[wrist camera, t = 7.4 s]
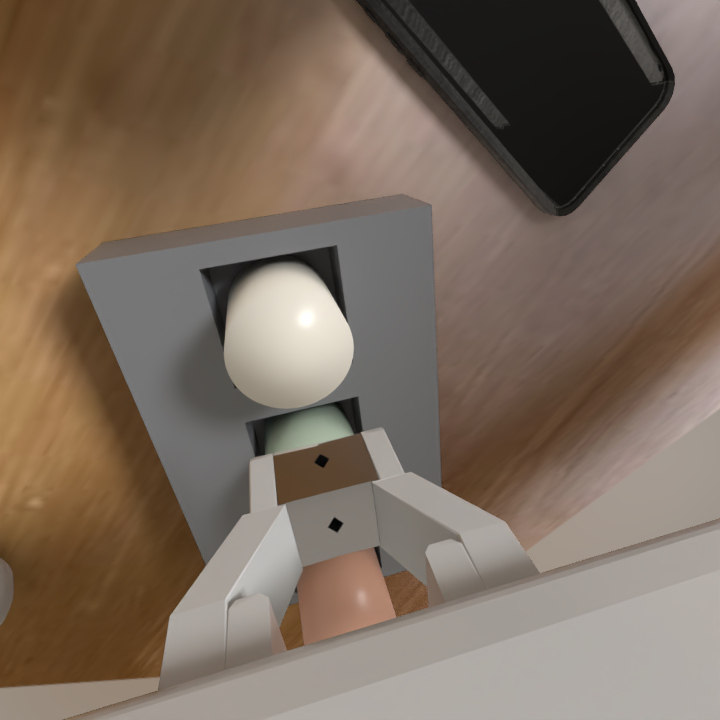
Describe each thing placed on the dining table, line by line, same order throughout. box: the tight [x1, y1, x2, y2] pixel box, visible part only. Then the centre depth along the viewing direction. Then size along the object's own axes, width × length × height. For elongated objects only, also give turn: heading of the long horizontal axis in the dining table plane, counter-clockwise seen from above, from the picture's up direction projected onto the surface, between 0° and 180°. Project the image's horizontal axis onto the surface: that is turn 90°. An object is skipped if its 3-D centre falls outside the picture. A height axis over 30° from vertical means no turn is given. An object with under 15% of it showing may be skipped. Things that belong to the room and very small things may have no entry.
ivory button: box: [224, 255, 354, 409], centre depth 17 cm, size 4×4×5 cm
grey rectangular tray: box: [75, 194, 442, 606], centre depth 23 cm, size 13×21×4 cm, turn 7°
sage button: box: [264, 402, 354, 455], centre depth 21 cm, size 4×4×5 cm
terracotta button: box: [297, 547, 396, 646], centre depth 22 cm, size 4×4×5 cm
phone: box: [356, 0, 675, 216], centre depth 18 cm, size 8×1×15 cm
